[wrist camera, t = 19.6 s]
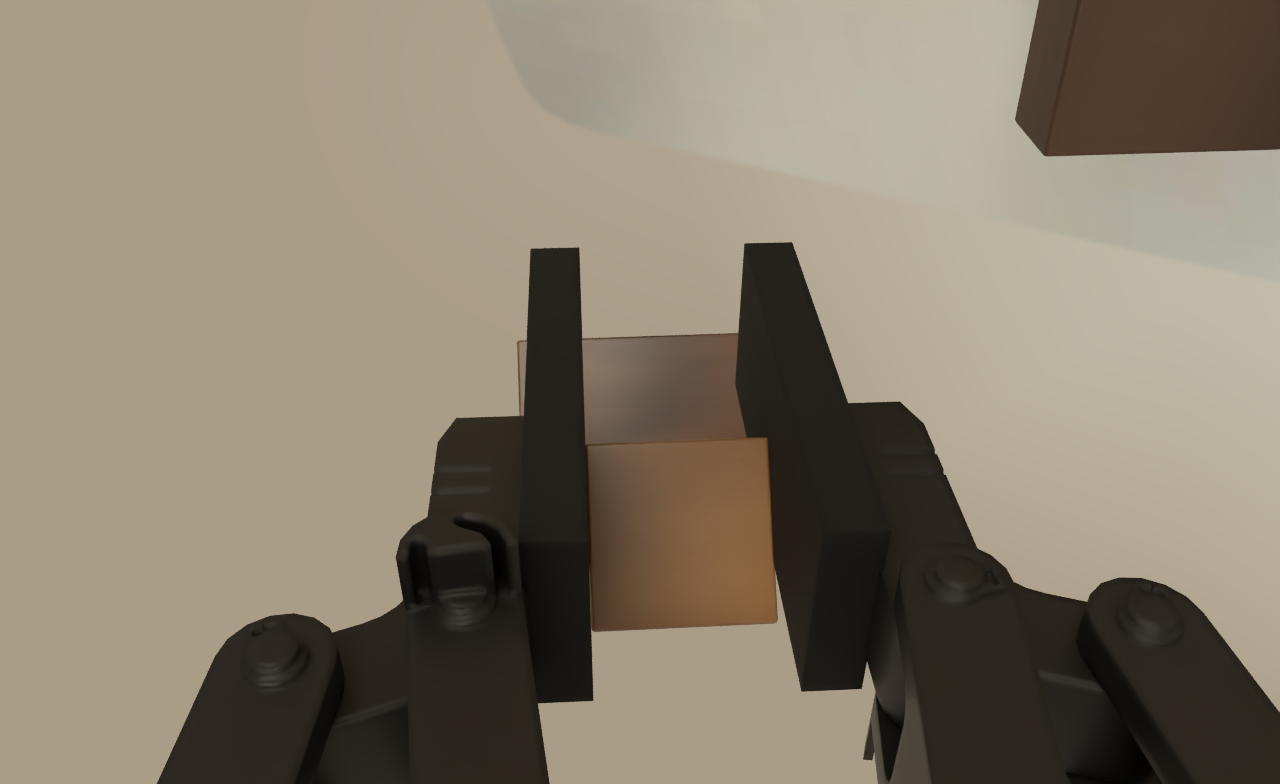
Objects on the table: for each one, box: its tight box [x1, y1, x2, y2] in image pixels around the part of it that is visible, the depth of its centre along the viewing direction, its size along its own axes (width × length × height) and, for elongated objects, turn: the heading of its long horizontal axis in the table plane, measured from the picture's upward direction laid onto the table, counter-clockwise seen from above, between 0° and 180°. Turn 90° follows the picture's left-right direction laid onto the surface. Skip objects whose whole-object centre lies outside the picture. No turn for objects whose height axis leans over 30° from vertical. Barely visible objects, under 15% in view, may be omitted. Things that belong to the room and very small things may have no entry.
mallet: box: [517, 333, 778, 632], centre depth 25 cm, size 6×19×6 cm
